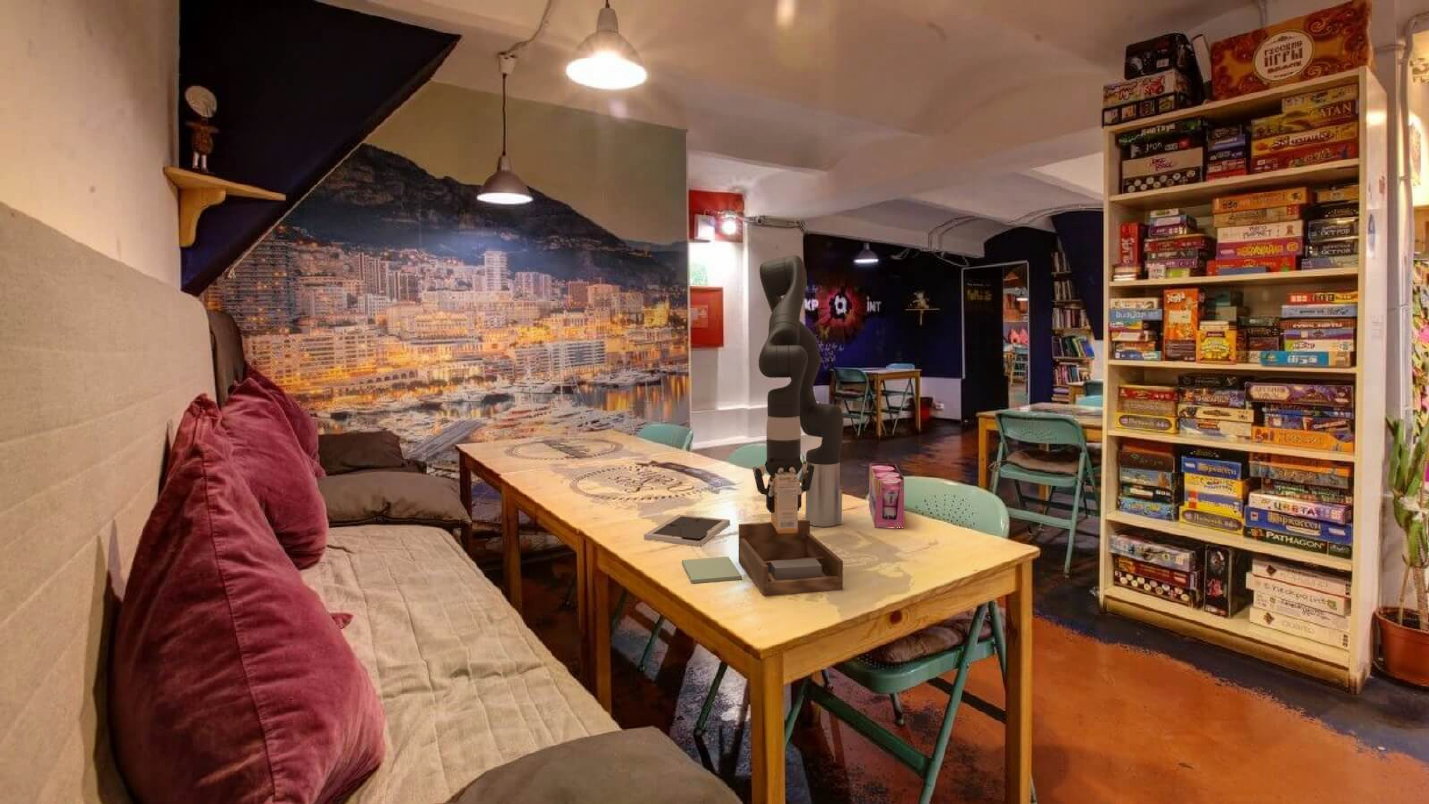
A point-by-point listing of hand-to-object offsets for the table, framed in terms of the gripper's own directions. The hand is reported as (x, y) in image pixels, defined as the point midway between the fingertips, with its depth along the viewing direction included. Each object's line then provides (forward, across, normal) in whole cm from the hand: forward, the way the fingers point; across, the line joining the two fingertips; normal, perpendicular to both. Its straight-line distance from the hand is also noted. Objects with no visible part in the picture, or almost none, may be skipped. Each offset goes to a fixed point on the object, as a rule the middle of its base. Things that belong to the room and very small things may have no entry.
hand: (783, 510), depth 154 cm
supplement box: (+4, 0, 0) cm, 4 cm away
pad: (+13, +16, -2) cm, 21 cm away
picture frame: (+14, +16, -33) cm, 39 cm away
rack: (+13, 0, +4) cm, 14 cm away
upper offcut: (+11, +1, +10) cm, 15 cm away
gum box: (+14, -41, -34) cm, 55 cm away
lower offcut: (+14, 0, +10) cm, 17 cm away
